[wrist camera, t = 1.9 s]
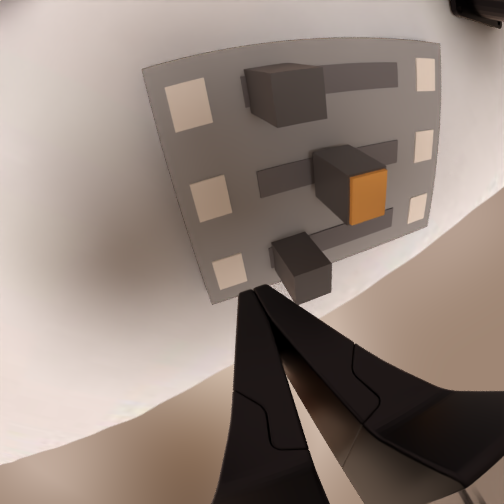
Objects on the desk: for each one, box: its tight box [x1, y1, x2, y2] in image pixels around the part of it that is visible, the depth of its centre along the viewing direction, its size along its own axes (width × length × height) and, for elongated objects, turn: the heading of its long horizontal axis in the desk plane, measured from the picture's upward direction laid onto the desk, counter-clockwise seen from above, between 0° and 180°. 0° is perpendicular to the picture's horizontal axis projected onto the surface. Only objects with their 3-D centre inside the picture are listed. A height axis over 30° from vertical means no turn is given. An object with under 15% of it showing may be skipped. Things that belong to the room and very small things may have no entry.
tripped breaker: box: [313, 144, 388, 226], centre depth 14 cm, size 2×2×3 cm
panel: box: [142, 38, 441, 305], centre depth 15 cm, size 16×13×4 cm
